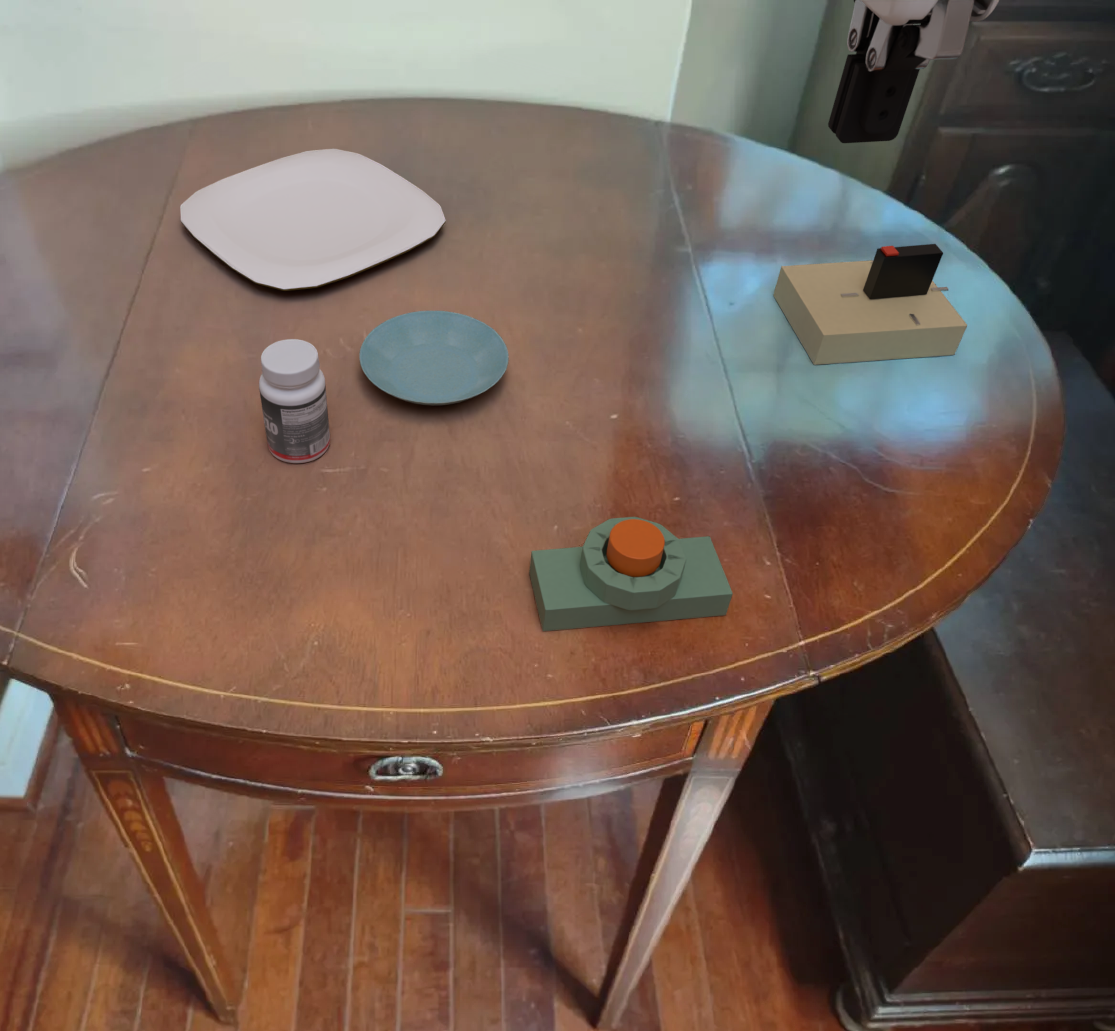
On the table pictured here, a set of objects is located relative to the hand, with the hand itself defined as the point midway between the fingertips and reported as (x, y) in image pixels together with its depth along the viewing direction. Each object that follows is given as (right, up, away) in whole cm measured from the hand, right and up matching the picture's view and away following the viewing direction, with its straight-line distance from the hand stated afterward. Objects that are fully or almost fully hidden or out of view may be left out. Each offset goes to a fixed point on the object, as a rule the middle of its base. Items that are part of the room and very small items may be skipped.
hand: (861, 134), depth 56 cm
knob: (+16, -2, +32) cm, 36 cm away
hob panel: (+14, -4, +34) cm, 37 cm away
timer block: (-10, -25, +13) cm, 30 cm away
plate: (-34, +7, +45) cm, 57 cm away
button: (-10, -23, +11) cm, 27 cm away
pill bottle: (-33, -15, +24) cm, 43 cm away
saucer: (-23, -9, +29) cm, 38 cm away
